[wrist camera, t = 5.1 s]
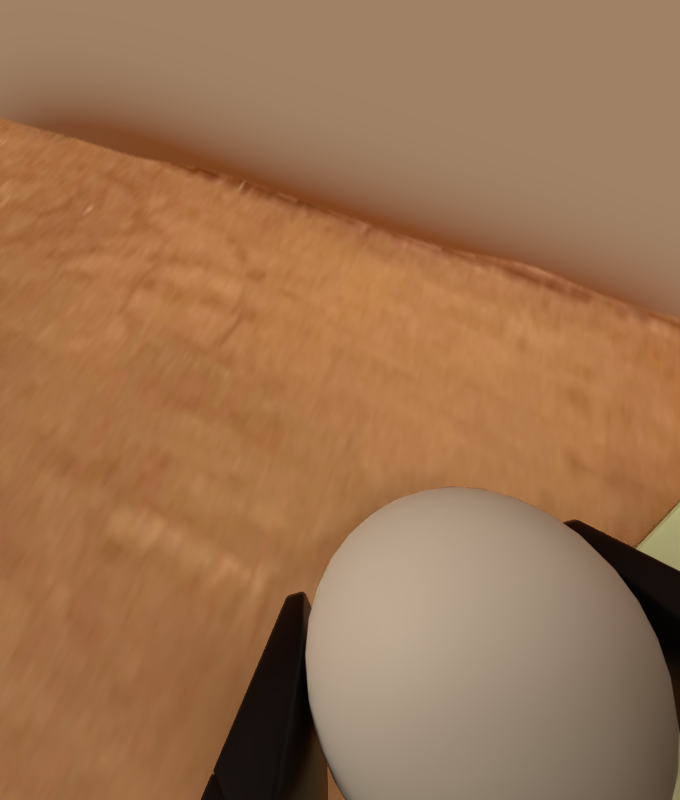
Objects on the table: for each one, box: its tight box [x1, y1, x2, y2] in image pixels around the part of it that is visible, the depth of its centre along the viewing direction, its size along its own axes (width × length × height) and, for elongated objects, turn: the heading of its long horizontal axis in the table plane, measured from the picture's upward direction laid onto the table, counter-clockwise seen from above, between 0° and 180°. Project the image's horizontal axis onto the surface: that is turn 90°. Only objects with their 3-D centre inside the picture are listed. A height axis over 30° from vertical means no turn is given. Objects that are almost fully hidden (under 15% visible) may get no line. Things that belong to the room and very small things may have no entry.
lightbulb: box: [305, 487, 679, 800], centre depth 10 cm, size 6×6×11 cm
